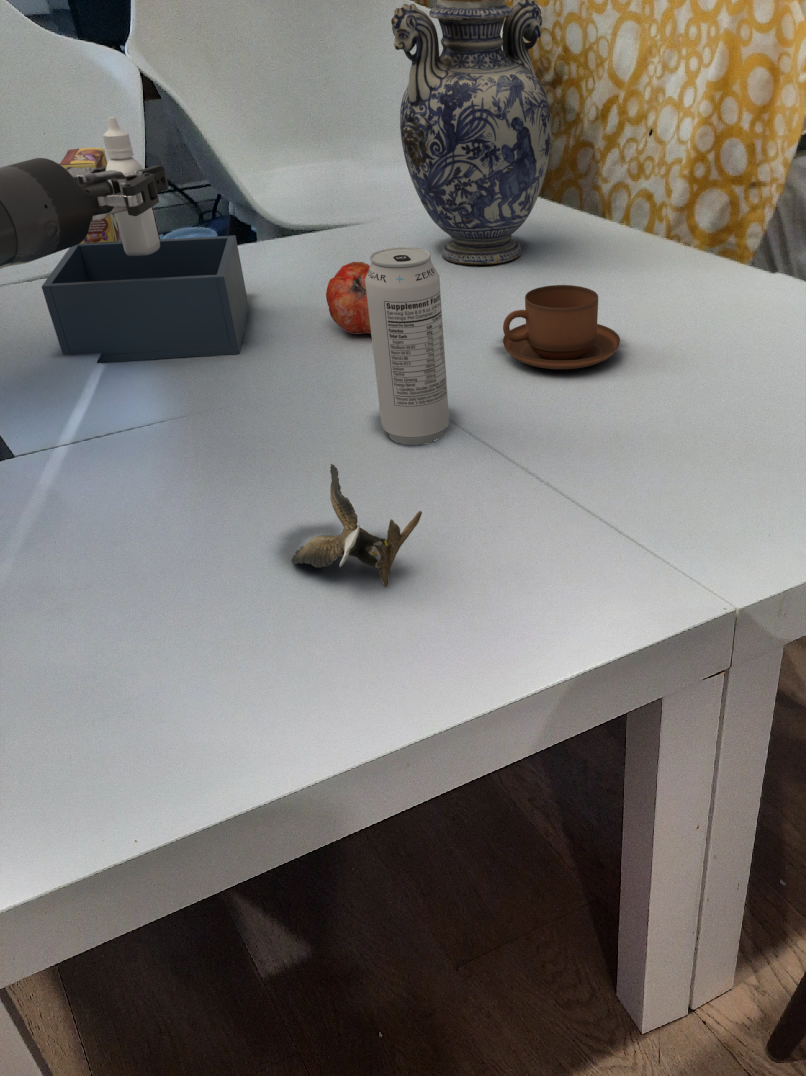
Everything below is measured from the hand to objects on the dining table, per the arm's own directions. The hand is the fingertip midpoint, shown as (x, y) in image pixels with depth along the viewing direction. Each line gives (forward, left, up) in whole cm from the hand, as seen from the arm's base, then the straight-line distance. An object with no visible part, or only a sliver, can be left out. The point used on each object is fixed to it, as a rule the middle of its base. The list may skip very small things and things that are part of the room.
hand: (143, 175), depth 103 cm
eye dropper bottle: (-1, -2, -7) cm, 7 cm away
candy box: (-8, +12, -15) cm, 21 cm away
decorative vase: (+37, +22, -15) cm, 45 cm away
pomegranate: (+21, -5, -15) cm, 26 cm away
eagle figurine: (+19, -55, -15) cm, 60 cm away
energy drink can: (+25, -33, -15) cm, 44 cm away
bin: (-1, -2, -15) cm, 15 cm away
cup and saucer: (+41, -17, -15) cm, 47 cm away
